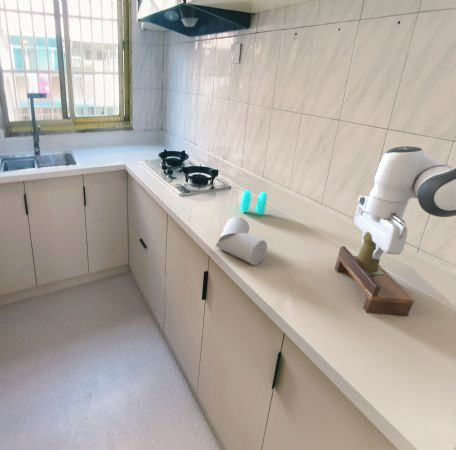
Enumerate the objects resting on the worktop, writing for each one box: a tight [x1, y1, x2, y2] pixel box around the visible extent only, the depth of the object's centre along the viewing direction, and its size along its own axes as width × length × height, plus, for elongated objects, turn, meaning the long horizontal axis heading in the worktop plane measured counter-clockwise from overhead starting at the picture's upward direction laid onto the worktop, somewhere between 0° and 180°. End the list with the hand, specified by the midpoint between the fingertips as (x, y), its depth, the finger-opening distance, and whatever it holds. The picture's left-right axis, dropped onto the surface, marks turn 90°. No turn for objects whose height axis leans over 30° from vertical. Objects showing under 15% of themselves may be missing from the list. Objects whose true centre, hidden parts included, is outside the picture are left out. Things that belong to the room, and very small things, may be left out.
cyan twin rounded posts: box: [240, 189, 268, 216], centre depth 146 cm, size 10×10×10 cm
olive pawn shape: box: [356, 232, 380, 272], centre depth 96 cm, size 6×6×11 cm
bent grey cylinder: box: [215, 216, 268, 266], centre depth 115 cm, size 18×10×20 cm
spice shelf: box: [334, 245, 415, 317], centre depth 95 cm, size 10×22×8 cm, turn 174°
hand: (369, 252), depth 96 cm, fingers closed on olive pawn shape, 4 cm apart
